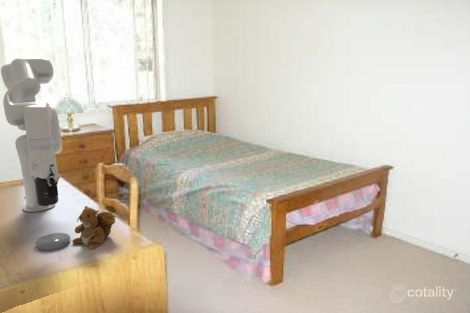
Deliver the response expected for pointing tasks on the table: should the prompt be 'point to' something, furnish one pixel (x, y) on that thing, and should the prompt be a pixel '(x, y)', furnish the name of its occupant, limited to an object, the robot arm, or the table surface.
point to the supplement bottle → (43, 193)
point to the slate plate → (52, 241)
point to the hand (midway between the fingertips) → (47, 194)
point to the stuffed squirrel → (93, 227)
